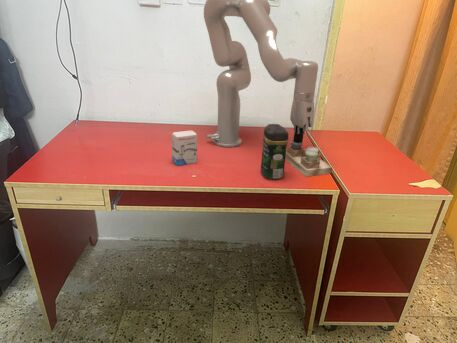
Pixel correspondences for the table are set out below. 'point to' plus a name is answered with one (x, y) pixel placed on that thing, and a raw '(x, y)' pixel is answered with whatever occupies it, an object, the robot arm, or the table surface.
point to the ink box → (184, 147)
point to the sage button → (311, 155)
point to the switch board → (307, 163)
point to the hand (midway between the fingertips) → (297, 141)
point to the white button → (312, 148)
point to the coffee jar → (274, 151)
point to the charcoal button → (296, 145)
